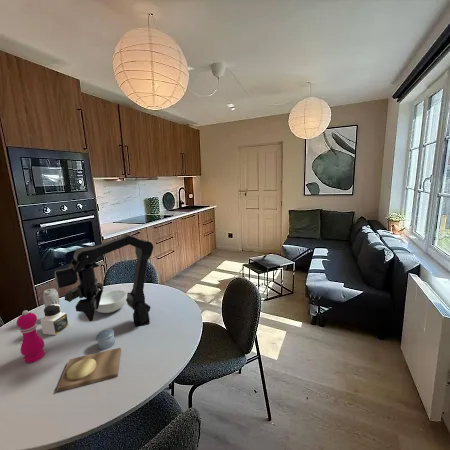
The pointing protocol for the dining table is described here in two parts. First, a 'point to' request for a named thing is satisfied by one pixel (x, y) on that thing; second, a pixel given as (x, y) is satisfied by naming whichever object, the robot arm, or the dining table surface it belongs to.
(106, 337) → the cap
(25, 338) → the pepper mill
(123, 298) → the cereal bowl
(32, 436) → the dining table surface
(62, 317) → the medicine bottle
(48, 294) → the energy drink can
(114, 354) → the base
